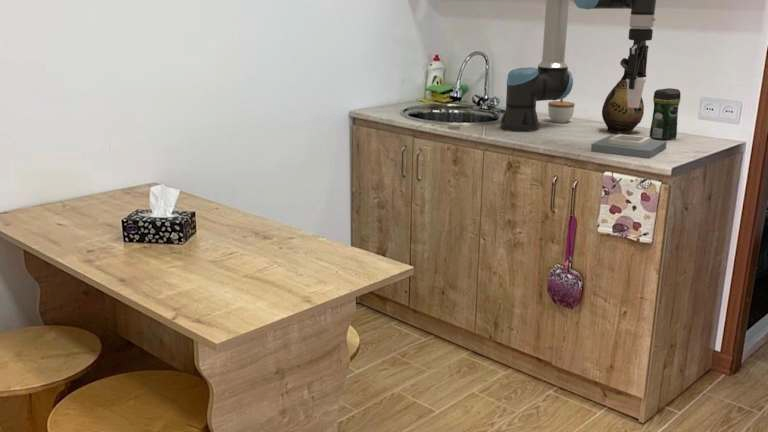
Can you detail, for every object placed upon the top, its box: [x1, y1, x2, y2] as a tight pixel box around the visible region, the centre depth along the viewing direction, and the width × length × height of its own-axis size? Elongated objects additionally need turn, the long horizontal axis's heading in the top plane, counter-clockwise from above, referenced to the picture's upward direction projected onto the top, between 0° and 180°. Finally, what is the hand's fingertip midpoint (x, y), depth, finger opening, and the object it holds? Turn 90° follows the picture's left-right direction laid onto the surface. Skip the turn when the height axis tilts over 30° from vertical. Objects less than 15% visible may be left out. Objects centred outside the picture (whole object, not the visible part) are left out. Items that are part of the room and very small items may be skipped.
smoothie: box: [626, 77, 647, 108], centre depth 261 cm, size 6×6×14 cm
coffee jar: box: [649, 87, 682, 141], centre depth 285 cm, size 10×8×19 cm
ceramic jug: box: [601, 56, 645, 135], centre depth 297 cm, size 17×15×30 cm
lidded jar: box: [547, 98, 575, 124], centre depth 320 cm, size 11×11×9 cm
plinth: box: [590, 133, 668, 159], centre depth 267 cm, size 20×20×4 cm
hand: (634, 97), depth 262 cm, fingers closed on smoothie, 6 cm apart
